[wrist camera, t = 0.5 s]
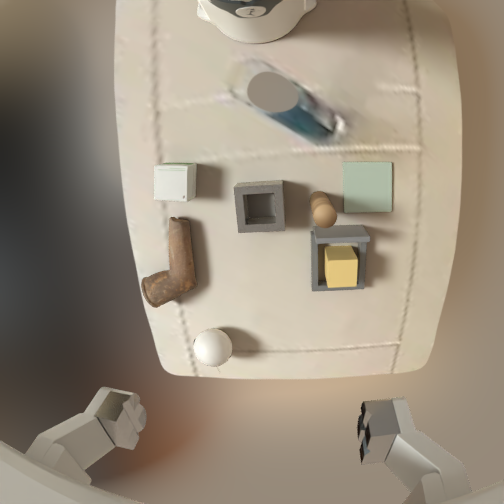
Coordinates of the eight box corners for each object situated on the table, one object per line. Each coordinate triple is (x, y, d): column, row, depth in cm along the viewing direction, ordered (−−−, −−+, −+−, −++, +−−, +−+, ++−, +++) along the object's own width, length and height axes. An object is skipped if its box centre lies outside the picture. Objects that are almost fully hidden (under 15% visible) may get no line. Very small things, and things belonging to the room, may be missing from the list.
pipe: (188, 221, 47) (127, 224, 47) (197, 314, 53) (142, 314, 53) (194, 211, 53) (139, 214, 53) (201, 296, 59) (151, 297, 59)
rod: (309, 191, 48) (313, 205, 39) (328, 190, 48) (336, 205, 38) (309, 210, 49) (313, 228, 40) (328, 209, 49) (336, 227, 39)
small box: (197, 162, 49) (188, 165, 44) (196, 197, 51) (187, 203, 46) (164, 161, 49) (152, 164, 44) (164, 195, 51) (153, 201, 47)
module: (324, 246, 51) (328, 260, 45) (351, 245, 50) (357, 259, 45) (324, 271, 53) (327, 287, 47) (350, 270, 52) (356, 286, 46)
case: (310, 226, 50) (312, 238, 44) (364, 224, 49) (373, 236, 43) (311, 286, 54) (313, 304, 48) (362, 284, 53) (368, 301, 47)
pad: (342, 162, 46) (343, 162, 45) (391, 162, 44) (391, 162, 44) (343, 212, 48) (344, 212, 48) (390, 211, 47) (391, 211, 47)
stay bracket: (238, 183, 49) (233, 187, 45) (282, 180, 48) (281, 184, 44) (242, 225, 51) (238, 232, 48) (285, 223, 50) (284, 230, 47)
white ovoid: (197, 319, 59) (186, 341, 53) (235, 323, 59) (228, 346, 52) (200, 357, 63) (191, 381, 56) (235, 362, 62) (229, 386, 55)
